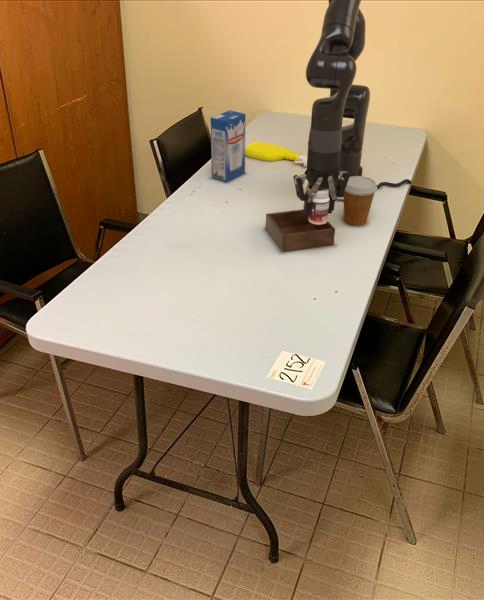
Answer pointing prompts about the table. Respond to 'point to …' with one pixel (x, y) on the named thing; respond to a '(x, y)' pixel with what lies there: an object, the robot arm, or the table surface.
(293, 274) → the table surface
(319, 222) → the pill bottle
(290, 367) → the table surface
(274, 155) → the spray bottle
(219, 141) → the milk carton
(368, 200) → the disposable coffee cup
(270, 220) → the wooden box
